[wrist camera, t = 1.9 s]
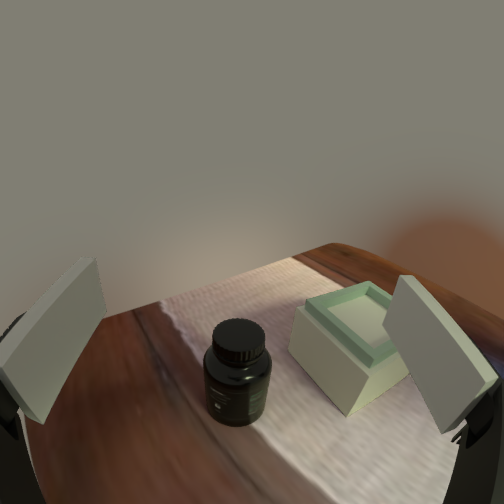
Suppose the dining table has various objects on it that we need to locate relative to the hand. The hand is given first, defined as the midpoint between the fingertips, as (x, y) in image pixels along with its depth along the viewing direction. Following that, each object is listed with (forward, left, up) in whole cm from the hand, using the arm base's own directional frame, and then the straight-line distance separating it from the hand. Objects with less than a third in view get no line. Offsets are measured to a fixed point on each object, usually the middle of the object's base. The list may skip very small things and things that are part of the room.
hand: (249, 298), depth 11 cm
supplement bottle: (-4, -9, -23) cm, 25 cm away
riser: (-22, -8, -22) cm, 32 cm away
